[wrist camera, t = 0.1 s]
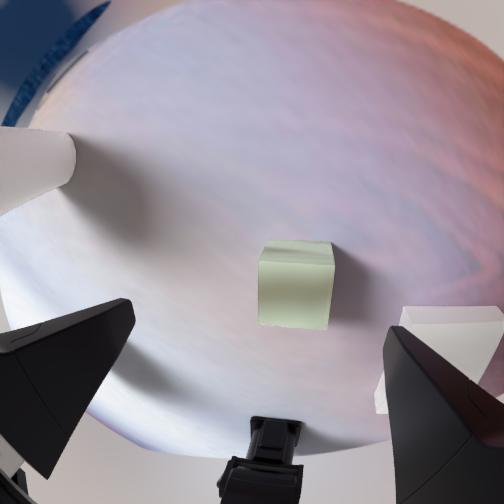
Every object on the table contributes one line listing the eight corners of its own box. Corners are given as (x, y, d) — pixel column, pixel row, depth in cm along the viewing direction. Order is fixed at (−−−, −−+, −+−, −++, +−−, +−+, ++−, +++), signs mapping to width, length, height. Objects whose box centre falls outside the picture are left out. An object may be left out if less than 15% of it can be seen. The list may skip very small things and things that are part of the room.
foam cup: (95, 176, 24) (-13, 206, 12) (52, 211, 27) (-33, 246, 15) (72, 102, 22) (-28, 103, 10) (32, 145, 25) (-51, 162, 13)
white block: (457, 387, 24) (464, 404, 21) (373, 394, 26) (376, 413, 24) (496, 305, 20) (509, 320, 17) (403, 305, 22) (412, 324, 19)
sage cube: (325, 296, 24) (326, 329, 19) (268, 292, 25) (258, 324, 20) (330, 241, 22) (335, 265, 17) (269, 238, 23) (258, 260, 18)
